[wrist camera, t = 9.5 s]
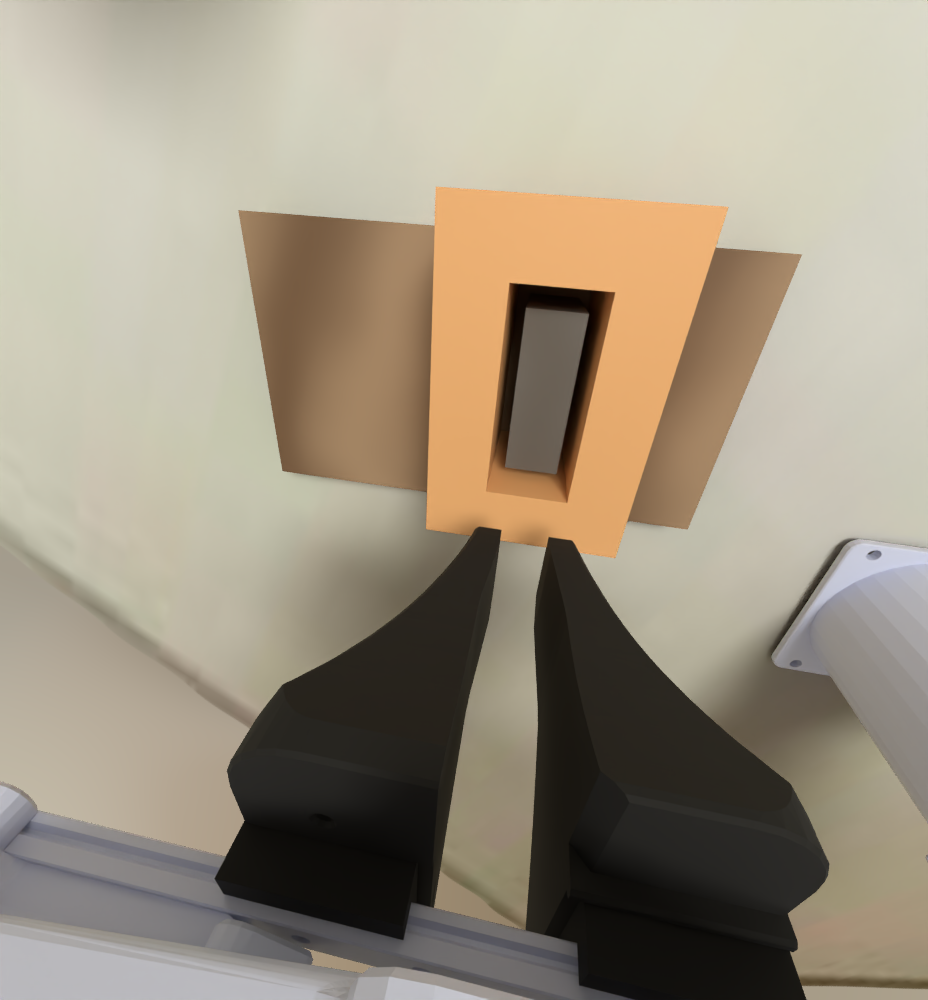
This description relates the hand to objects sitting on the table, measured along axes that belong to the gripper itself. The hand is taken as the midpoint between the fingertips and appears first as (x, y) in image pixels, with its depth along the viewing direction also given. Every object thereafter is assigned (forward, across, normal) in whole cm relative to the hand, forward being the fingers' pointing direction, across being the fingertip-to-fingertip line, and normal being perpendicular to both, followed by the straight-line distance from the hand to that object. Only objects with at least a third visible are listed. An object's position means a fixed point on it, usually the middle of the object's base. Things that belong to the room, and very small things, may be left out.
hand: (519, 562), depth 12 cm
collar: (+7, 0, -4) cm, 8 cm away
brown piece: (+8, +2, -3) cm, 9 cm away
